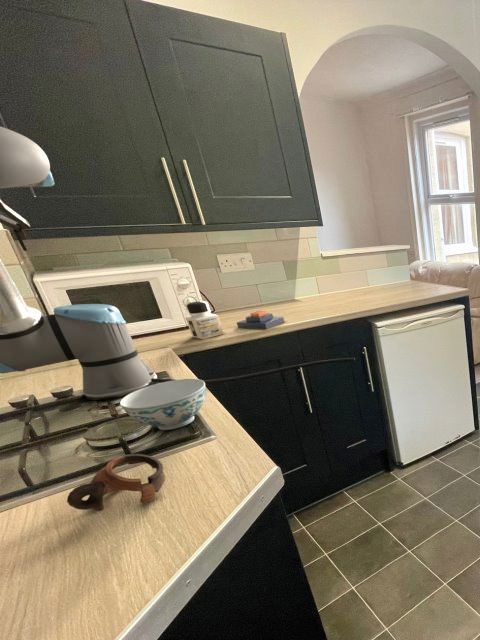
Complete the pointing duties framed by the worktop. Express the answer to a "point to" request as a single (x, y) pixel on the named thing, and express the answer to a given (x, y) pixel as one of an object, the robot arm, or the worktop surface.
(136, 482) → the brown curved ring piece
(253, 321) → the blue orange stepped pyramid
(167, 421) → the chinaware
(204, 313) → the container
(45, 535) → the worktop surface
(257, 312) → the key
